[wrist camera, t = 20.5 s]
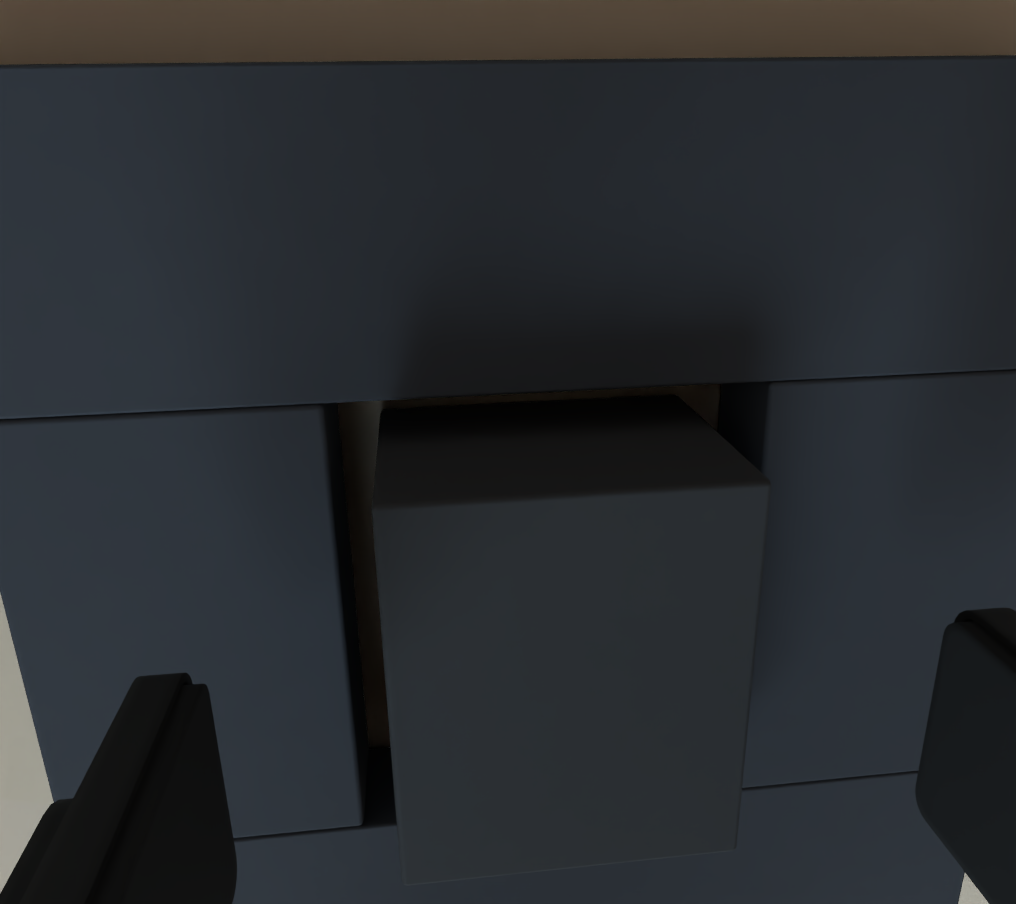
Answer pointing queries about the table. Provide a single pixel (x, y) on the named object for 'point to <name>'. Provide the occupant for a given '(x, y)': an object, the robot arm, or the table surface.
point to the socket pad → (494, 371)
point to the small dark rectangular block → (565, 632)
